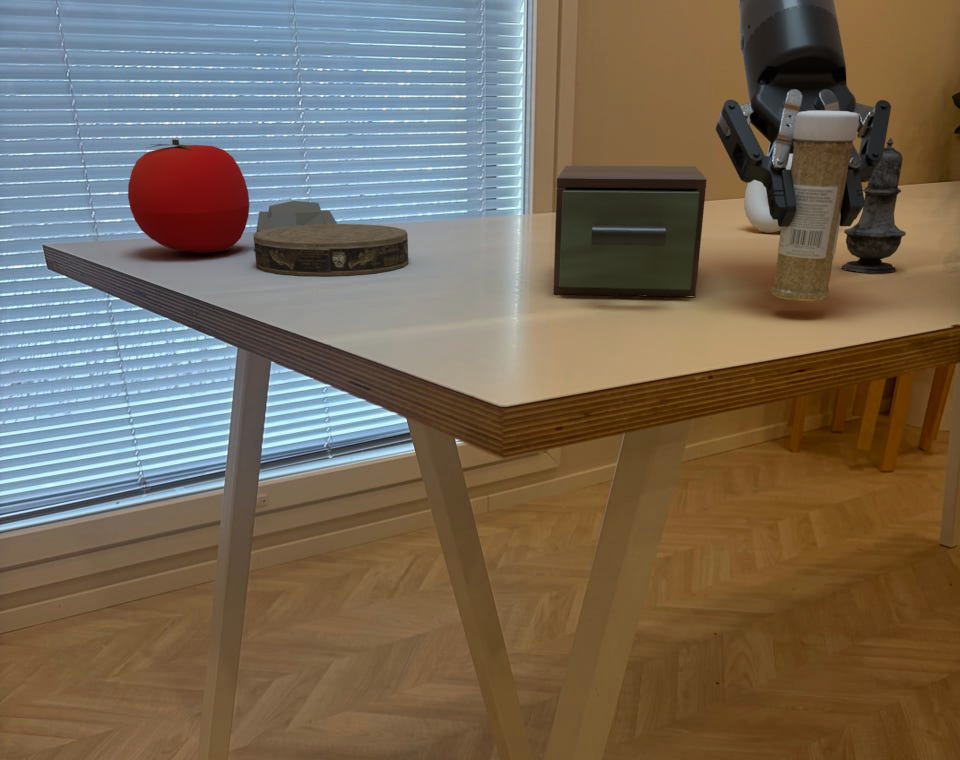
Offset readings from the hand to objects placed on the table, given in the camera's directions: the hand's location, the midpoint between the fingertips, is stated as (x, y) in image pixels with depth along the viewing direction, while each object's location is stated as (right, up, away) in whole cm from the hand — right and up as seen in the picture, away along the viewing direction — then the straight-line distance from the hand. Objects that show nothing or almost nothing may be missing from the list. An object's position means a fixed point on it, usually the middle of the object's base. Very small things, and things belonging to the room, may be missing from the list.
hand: (819, 218), depth 79 cm
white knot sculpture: (+13, +20, +52) cm, 57 cm away
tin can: (-42, +7, +29) cm, 51 cm away
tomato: (-58, +11, +36) cm, 69 cm away
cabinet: (-12, +2, +19) cm, 23 cm away
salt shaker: (+13, +5, +26) cm, 29 cm away
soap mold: (-48, +17, +47) cm, 69 cm away
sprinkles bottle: (0, -5, +4) cm, 6 cm away
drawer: (-13, 0, +15) cm, 19 cm away
